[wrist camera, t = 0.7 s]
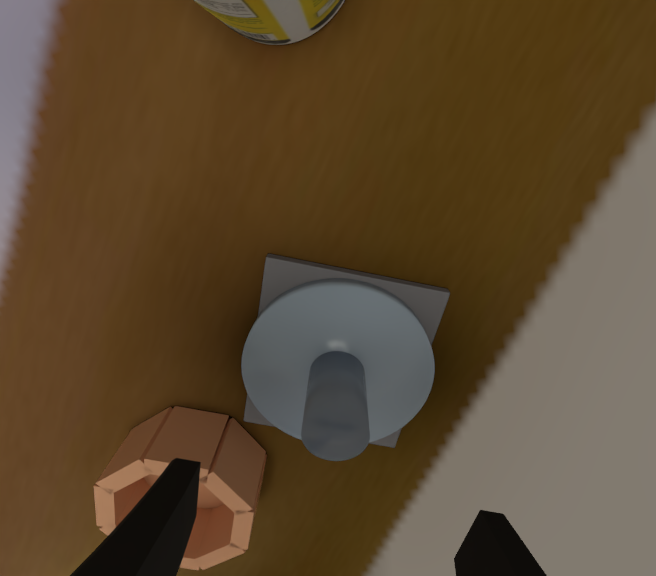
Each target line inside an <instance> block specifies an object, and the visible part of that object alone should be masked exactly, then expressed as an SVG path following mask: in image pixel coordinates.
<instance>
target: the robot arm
mask: <svg viewBox="0 0 656 576" xmlns="http://www.w3.org/2000/svg"><path fill="white" fill-rule="evenodd" d="M200 465H201V462H198V461H192V460H186V459H180V458H175V459H173V460H172V461H171V462H170V463H169V465H168V466H167V467H166V469H165V470H164V471H163V473H162V474H161V475H160V476H159V478H158V479H157V480H156V481H155V483H154V484H153V485H152V486H151V488H150V489H149V490H148V491H147V492H146V494H145V495H144V496H143V497H142V498H141V499H140V501H139V502H138V503H137V504H136V505H135V507H134V508H133V509H132V510H131V511H130V512H129V513H128V515H127V516H126V517H125V518H124V519H123V520H122V521H121V522H120V523H119V524H118V526H117V527H116V528H115V529H114V530H113V531H112V532H111V533H110V534H109V535H108V537H107V538H106V539H105V540H104V541H103V542H102V543H101V544H100V545H99V546H98V547H97V548H96V550H95V551H94V552H93V553H92V554H91V555H90V556H89V557H88V558H87V559H86V560H85V561H84V562H83V563H82V564H81V565H80V566H79V567H78V568H77V569H76V570H75V571H74V572H73V573H72V574H71V575H70V576H176V574H177V572H178V569H179V567H180V565H181V562H182V559H183V556H184V553H185V550H186V547H187V544H188V541H189V538H190V534H191V531H192V528H193V525H194V522H195V519H196V514H197V502H198V490H199V478H200ZM454 562H455V569H456V576H546V574H545V573H544V571H543V570H542V568H541V567H540V566H539V564H538V563H537V561H536V560H535V558H534V557H533V556H532V554H531V553H530V551H529V550H528V548H527V547H526V546H525V544H524V543H523V541H522V540H521V539H520V537H519V536H518V534H517V533H516V531H515V530H514V528H513V527H512V526H511V524H510V523H509V521H508V520H507V519H506V517H505V516H504V514H501V513H495V512H489V511H483V510H480V511H479V513H478V515H477V517H476V519H475V521H474V523H473V525H472V526H471V528H470V530H469V532H468V534H467V536H466V537H465V539H464V541H463V543H462V545H461V547H460V549H459V551H458V552H457V554H456V556H455V558H454Z"/></svg>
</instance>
